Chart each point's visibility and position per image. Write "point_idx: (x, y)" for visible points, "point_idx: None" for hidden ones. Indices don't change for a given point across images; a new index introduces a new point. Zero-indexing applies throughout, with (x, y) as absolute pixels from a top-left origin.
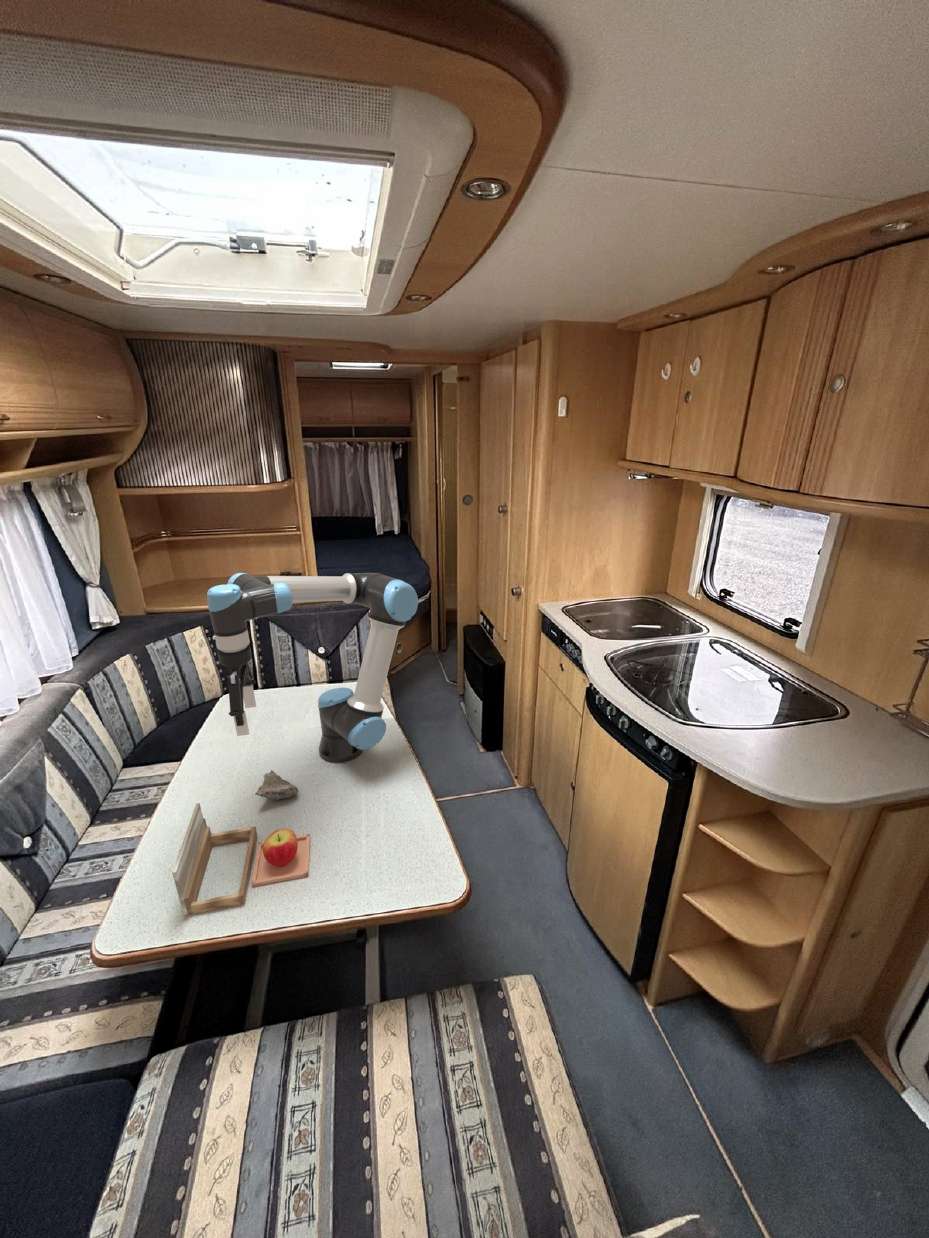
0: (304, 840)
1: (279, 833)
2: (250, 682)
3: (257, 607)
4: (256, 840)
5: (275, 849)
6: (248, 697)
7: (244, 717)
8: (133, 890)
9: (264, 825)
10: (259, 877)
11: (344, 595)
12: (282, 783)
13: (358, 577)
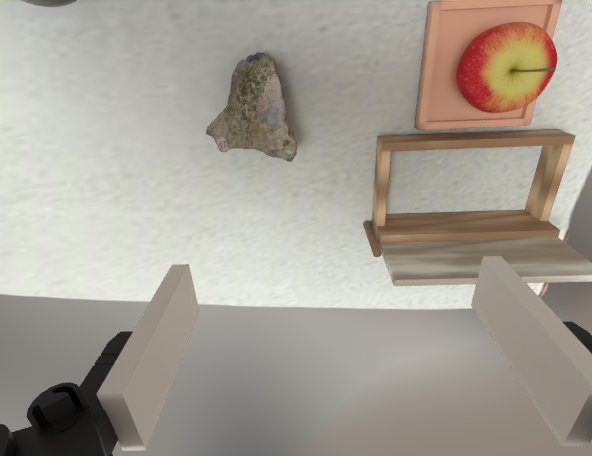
0: (440, 16)
1: (498, 72)
2: (100, 438)
3: None
4: (392, 136)
5: (550, 76)
6: (171, 341)
7: (579, 350)
8: (434, 301)
9: (347, 126)
10: (509, 112)
11: None
12: (254, 96)
13: None
